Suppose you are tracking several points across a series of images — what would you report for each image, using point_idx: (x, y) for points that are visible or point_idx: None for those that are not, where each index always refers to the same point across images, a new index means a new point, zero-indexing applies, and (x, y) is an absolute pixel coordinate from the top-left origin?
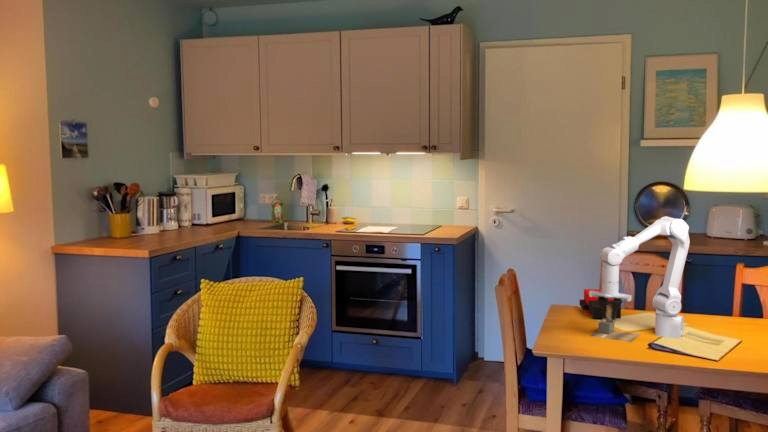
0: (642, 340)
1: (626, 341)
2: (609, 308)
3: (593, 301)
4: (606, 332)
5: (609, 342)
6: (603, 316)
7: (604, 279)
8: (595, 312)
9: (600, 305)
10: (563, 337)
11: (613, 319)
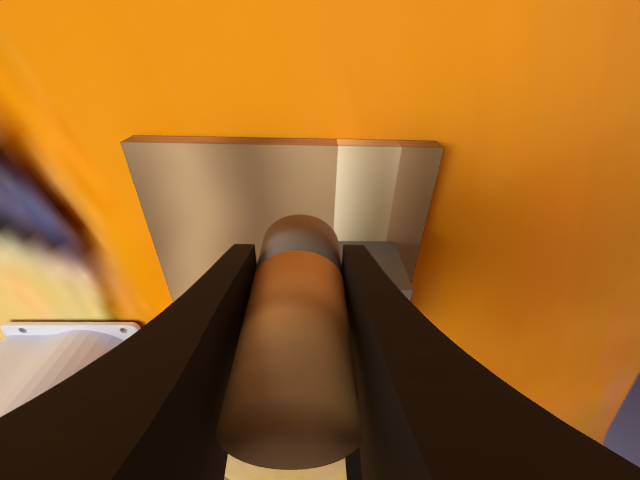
0: (151, 273)
1: (157, 142)
2: (274, 354)
3: None
4: (341, 247)
5: (286, 130)
6: (365, 253)
7: None
8: None
9: (474, 371)
10: (636, 70)
11: (238, 244)
